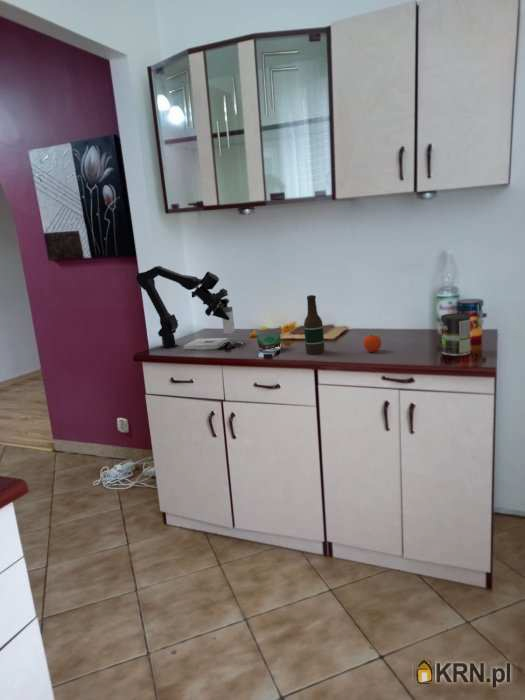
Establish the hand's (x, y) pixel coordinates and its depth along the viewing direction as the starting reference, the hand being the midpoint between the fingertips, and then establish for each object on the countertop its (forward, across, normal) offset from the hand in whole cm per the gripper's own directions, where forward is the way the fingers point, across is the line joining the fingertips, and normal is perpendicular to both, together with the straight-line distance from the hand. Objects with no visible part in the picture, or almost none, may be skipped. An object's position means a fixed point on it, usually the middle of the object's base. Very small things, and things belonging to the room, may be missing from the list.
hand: (230, 318), depth 248 cm
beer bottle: (+40, -19, -22) cm, 50 cm away
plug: (+4, 0, +6) cm, 7 cm away
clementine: (+57, -19, -39) cm, 72 cm away
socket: (-1, 0, +19) cm, 19 cm away
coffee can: (+79, -24, -61) cm, 103 cm away
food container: (+26, -14, -7) cm, 30 cm away
